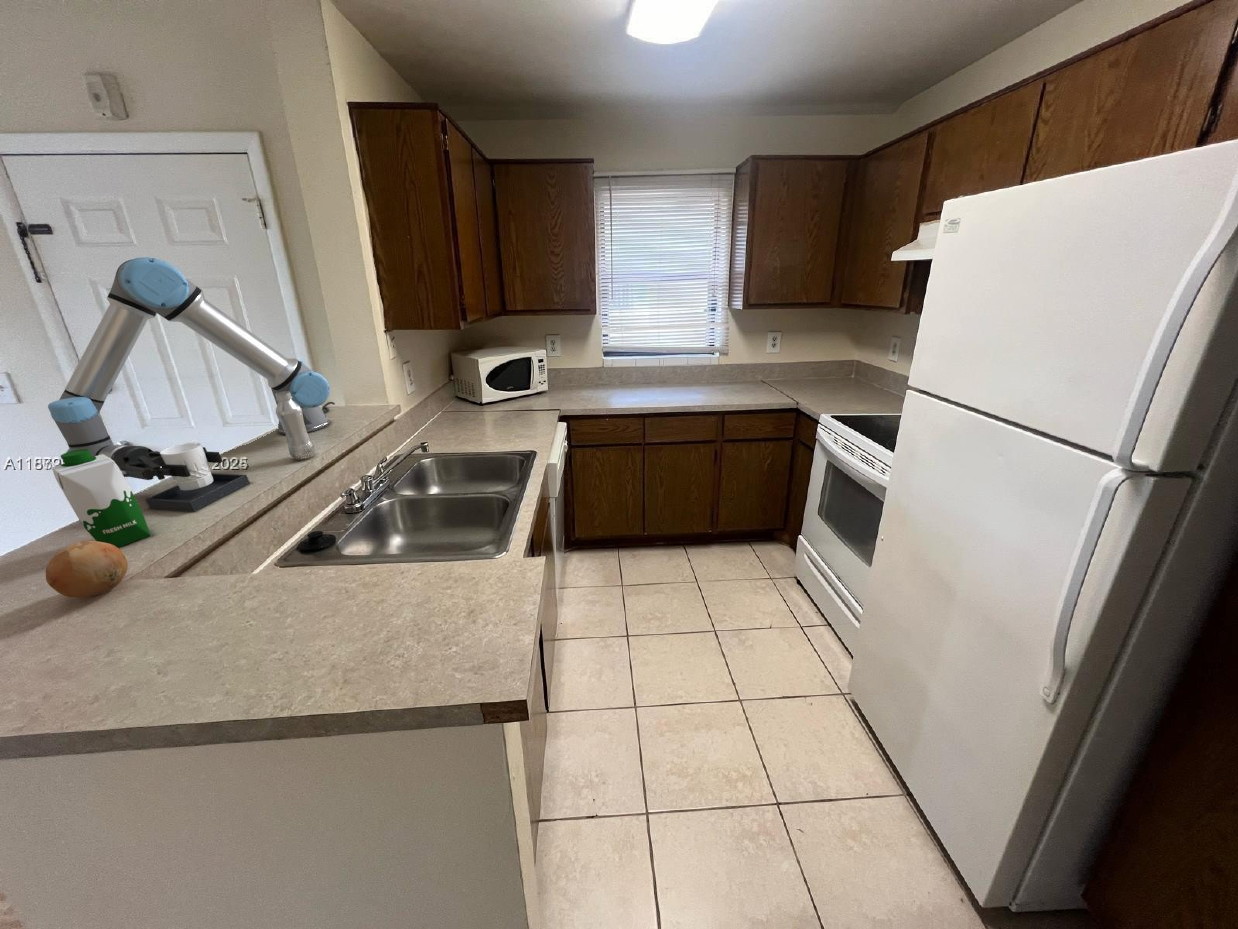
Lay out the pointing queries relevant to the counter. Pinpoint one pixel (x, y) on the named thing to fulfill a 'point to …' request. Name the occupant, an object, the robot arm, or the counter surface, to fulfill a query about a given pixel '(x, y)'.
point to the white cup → (189, 465)
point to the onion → (86, 569)
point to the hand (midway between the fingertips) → (203, 464)
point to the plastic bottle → (294, 426)
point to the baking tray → (197, 494)
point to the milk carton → (101, 498)
